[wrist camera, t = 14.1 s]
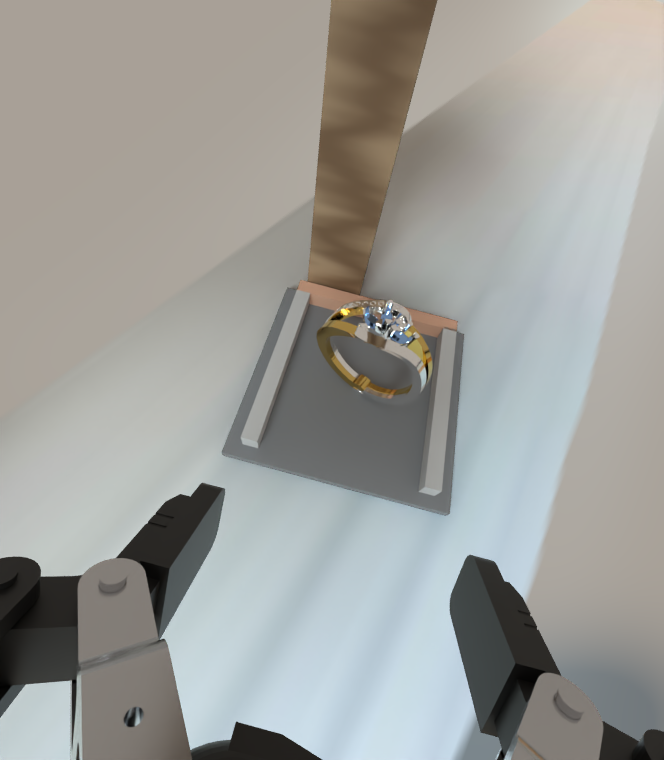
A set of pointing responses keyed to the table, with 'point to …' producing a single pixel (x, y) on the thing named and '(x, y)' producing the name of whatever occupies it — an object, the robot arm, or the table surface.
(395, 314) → the ring
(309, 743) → the table surface
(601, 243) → the table surface
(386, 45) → the shelf
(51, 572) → the table surface
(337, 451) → the seat
